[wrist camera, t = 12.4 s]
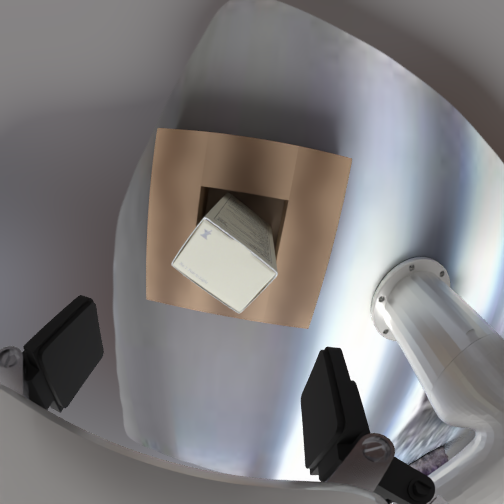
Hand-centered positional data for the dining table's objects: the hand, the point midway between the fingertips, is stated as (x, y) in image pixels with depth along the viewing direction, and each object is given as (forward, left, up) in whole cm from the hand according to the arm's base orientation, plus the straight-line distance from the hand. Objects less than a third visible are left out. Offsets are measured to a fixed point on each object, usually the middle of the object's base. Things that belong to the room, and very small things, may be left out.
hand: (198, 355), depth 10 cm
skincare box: (0, 0, -21) cm, 21 cm away
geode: (-62, +62, -22) cm, 90 cm away
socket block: (0, 0, -22) cm, 22 cm away
